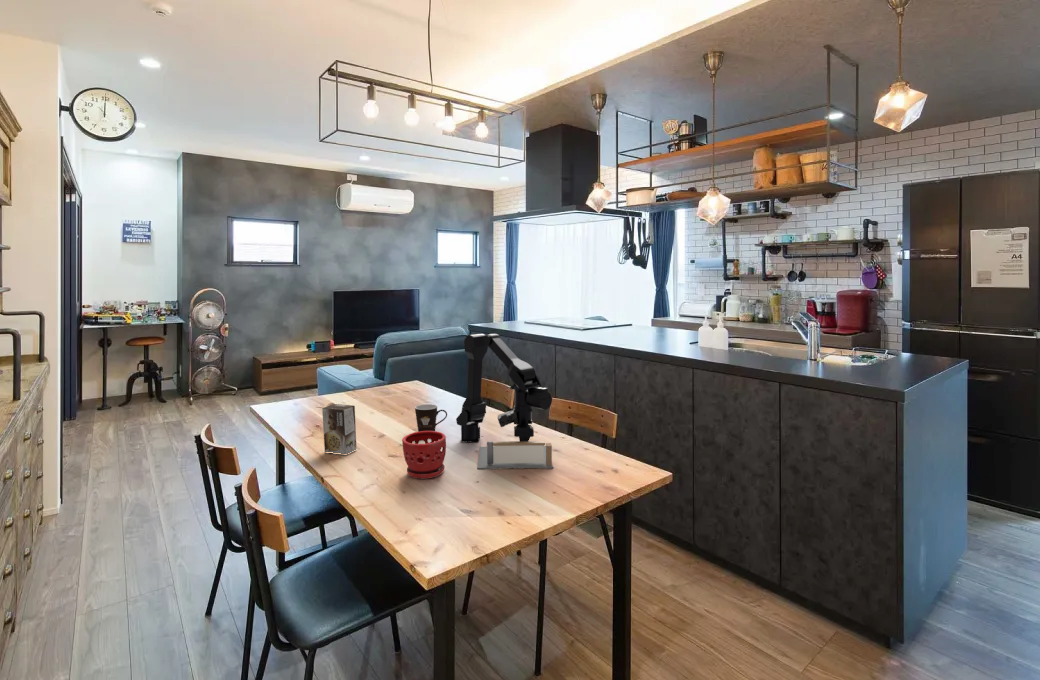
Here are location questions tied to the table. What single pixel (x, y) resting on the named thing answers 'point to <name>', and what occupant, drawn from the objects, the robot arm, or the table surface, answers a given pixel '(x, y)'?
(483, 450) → the gate frame
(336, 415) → the coffee box
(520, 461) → the gate
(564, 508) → the table surface
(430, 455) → the plant pot
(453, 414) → the table surface
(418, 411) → the coffee mug
